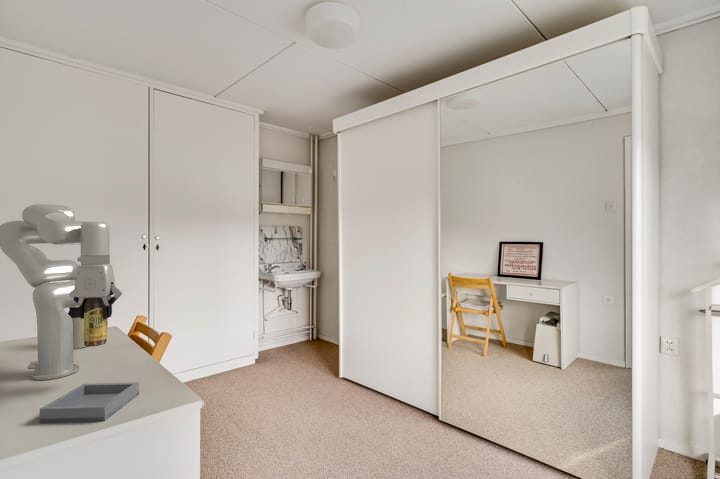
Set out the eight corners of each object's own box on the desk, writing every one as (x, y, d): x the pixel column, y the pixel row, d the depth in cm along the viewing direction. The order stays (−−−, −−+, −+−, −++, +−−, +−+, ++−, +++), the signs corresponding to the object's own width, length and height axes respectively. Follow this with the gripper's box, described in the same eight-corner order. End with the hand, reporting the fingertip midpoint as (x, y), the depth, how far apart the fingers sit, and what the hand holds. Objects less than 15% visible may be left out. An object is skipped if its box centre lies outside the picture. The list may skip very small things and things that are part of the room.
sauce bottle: (88, 348, 115) (87, 284, 114) (79, 345, 118) (78, 282, 117) (112, 343, 120) (111, 281, 120) (102, 340, 123) (102, 280, 123)
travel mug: (82, 349, 156) (81, 306, 156) (63, 349, 157) (62, 306, 156) (96, 343, 164) (95, 302, 164) (78, 343, 165) (77, 302, 164)
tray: (40, 422, 95) (39, 409, 95) (83, 395, 111) (83, 383, 111) (104, 420, 96) (104, 407, 96) (139, 394, 112) (139, 382, 112)
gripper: (58, 261, 114) (58, 320, 115) (116, 262, 115) (116, 320, 115) (75, 260, 122) (76, 315, 122) (130, 260, 123) (130, 315, 123)
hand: (96, 317), depth 119 cm, fingers closed on sauce bottle, 6 cm apart
